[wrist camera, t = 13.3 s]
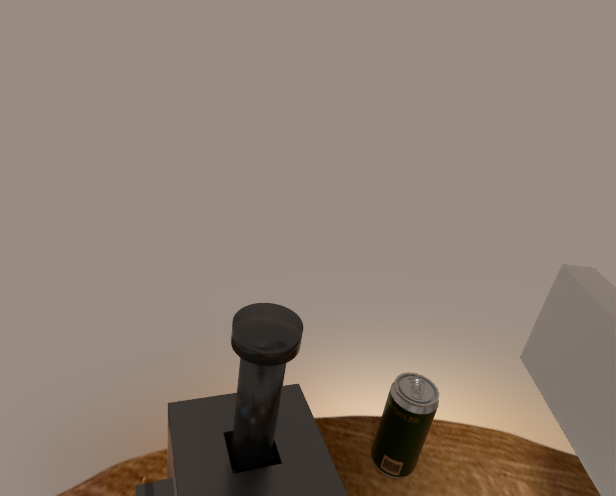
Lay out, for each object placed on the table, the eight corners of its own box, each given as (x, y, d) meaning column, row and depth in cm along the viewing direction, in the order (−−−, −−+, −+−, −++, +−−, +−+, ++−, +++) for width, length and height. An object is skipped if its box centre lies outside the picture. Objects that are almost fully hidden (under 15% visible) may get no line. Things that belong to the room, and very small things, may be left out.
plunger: (267, 518, 46) (306, 284, 34) (291, 607, 40) (352, 358, 27) (184, 539, 44) (194, 292, 31) (196, 638, 37) (214, 377, 24)
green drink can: (413, 487, 54) (442, 412, 48) (368, 474, 54) (391, 399, 49) (413, 449, 59) (439, 378, 53) (371, 438, 59) (393, 366, 54)
